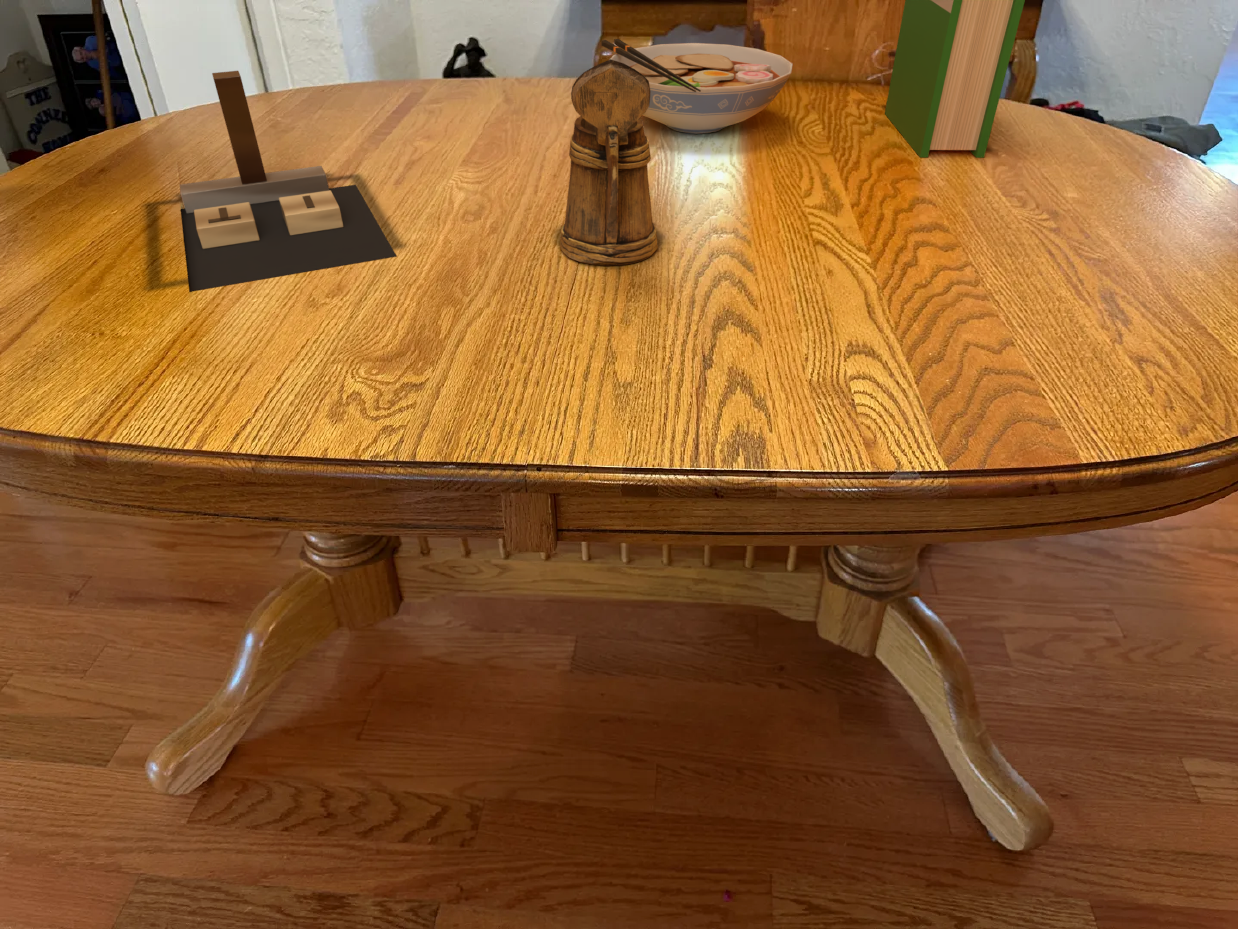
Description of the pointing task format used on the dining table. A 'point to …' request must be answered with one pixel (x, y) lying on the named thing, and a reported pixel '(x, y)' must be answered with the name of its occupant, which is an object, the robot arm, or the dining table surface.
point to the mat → (286, 245)
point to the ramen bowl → (704, 82)
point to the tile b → (311, 212)
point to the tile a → (226, 225)
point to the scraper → (247, 161)
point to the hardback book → (951, 72)
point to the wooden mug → (609, 169)
